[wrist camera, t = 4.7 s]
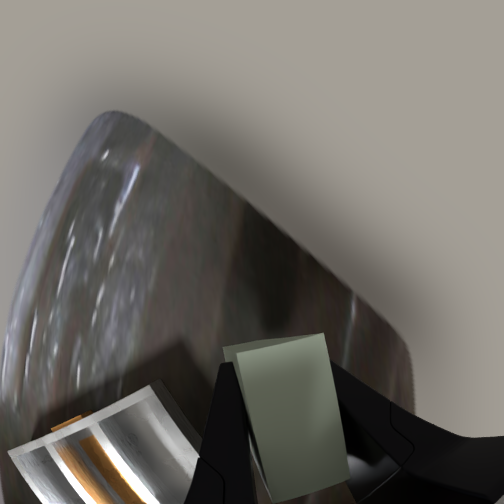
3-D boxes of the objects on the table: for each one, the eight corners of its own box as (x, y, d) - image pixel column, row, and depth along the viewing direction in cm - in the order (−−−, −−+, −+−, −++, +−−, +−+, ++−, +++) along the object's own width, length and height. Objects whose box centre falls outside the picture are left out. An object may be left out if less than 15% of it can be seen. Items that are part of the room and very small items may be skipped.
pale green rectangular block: (272, 406, 15) (350, 478, 5) (237, 414, 14) (272, 503, 5) (258, 340, 16) (323, 333, 6) (222, 347, 15) (236, 353, 6)
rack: (235, 479, 17) (240, 501, 13) (96, 529, 13) (83, 548, 9) (157, 374, 19) (146, 380, 15) (28, 438, 15) (5, 447, 11)
